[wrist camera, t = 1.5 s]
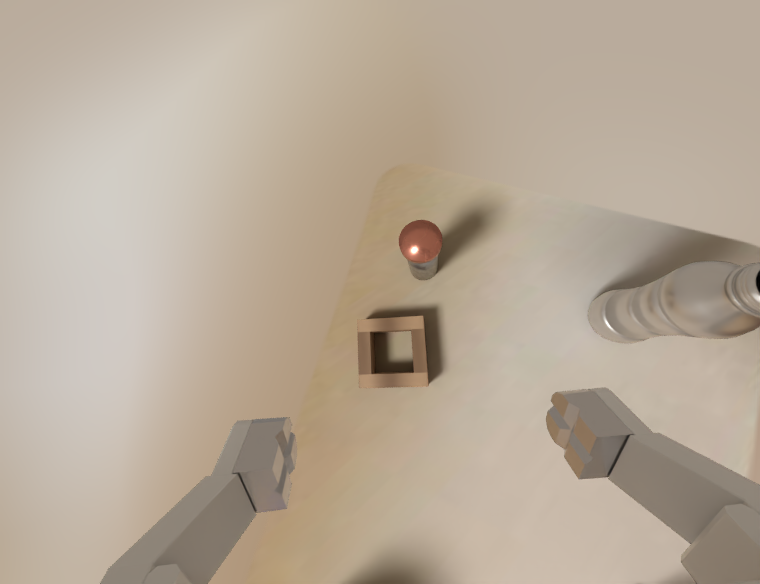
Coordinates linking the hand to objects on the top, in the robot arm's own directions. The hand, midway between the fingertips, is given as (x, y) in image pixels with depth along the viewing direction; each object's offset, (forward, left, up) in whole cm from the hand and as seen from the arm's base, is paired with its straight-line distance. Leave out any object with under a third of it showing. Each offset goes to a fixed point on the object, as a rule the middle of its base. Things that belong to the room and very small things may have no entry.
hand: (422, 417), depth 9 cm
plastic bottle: (-23, -5, -33) cm, 40 cm away
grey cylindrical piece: (0, -14, -33) cm, 36 cm away
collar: (+5, -2, -33) cm, 33 cm away
